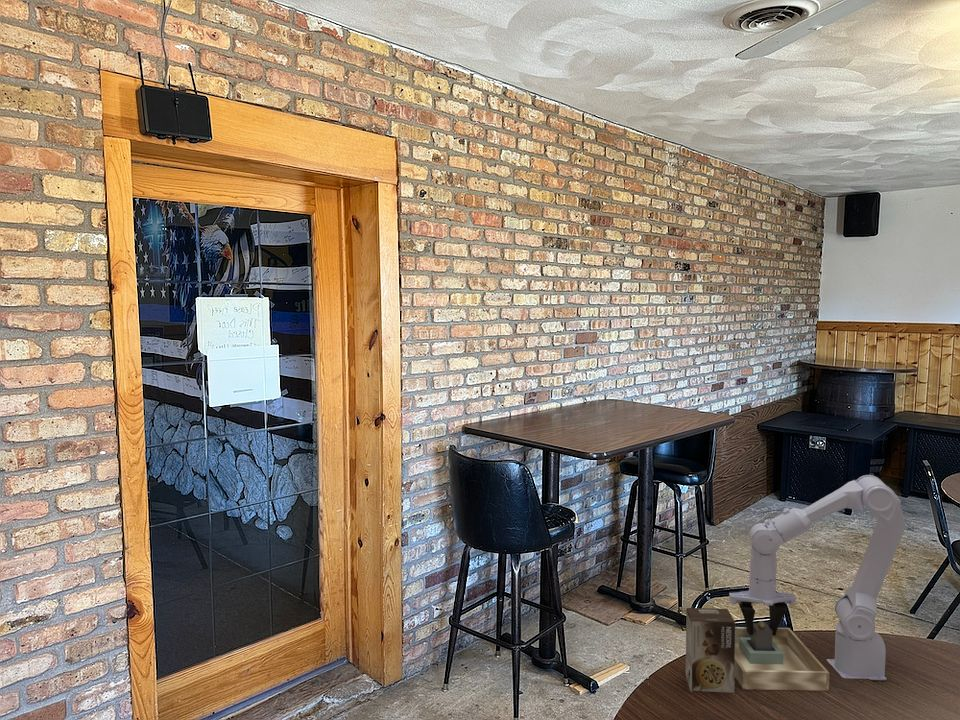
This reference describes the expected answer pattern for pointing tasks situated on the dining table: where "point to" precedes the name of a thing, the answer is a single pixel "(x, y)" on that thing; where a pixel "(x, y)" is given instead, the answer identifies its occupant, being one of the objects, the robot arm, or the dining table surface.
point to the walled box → (781, 666)
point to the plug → (761, 637)
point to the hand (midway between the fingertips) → (761, 633)
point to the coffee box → (710, 650)
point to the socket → (760, 653)
